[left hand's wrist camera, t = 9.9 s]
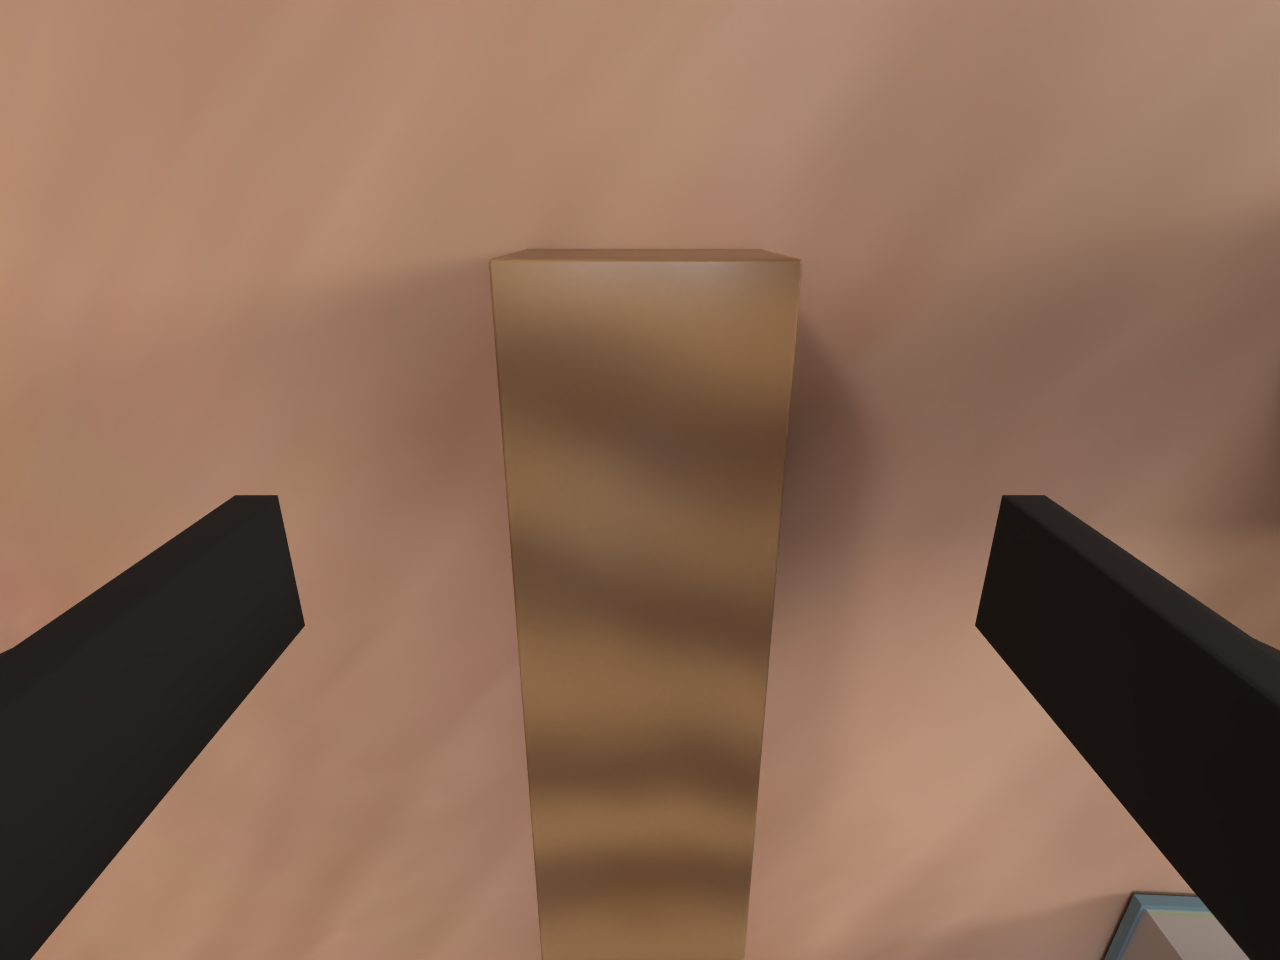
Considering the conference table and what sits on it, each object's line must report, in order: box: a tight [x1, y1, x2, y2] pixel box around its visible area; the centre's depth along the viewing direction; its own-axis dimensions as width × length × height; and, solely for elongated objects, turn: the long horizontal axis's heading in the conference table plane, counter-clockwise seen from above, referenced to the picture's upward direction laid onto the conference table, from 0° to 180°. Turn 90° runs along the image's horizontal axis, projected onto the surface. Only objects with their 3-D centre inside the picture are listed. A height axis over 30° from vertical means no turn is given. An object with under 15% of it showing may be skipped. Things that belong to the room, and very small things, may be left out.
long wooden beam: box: [489, 249, 802, 960], centre depth 38 cm, size 72×10×7 cm, turn 0°
